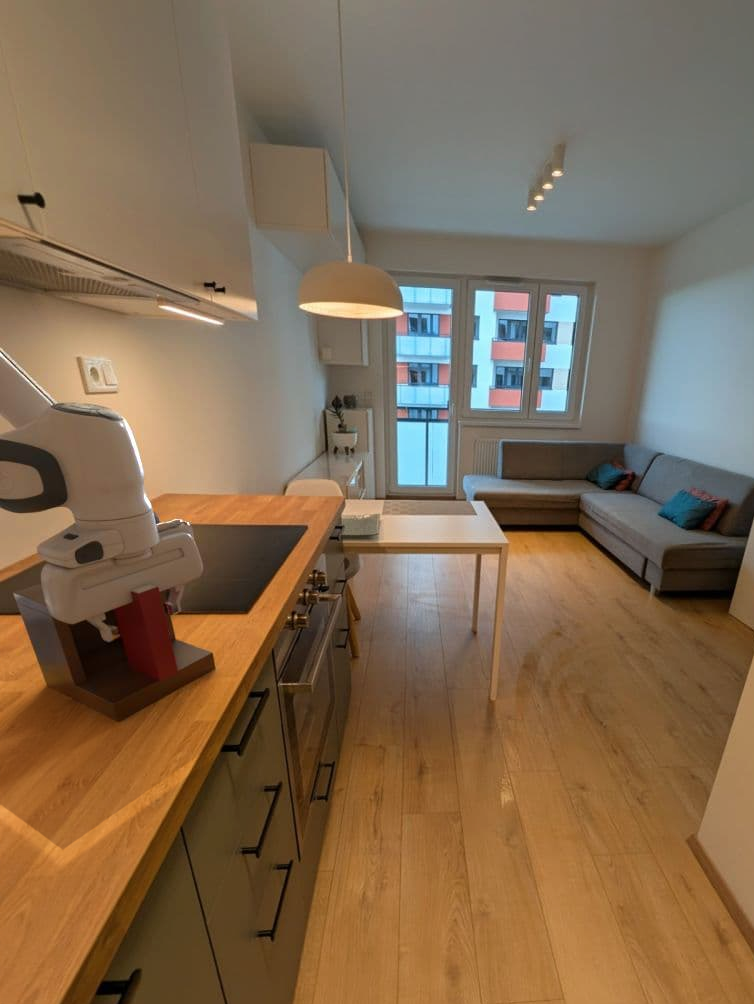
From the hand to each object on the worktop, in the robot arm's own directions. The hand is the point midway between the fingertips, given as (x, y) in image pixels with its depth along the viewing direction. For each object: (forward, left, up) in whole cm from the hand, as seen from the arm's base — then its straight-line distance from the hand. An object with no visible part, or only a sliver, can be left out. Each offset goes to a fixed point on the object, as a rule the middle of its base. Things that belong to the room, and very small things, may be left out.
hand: (144, 625), depth 73 cm
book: (0, 0, -8) cm, 8 cm away
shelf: (-6, 0, -11) cm, 12 cm away
